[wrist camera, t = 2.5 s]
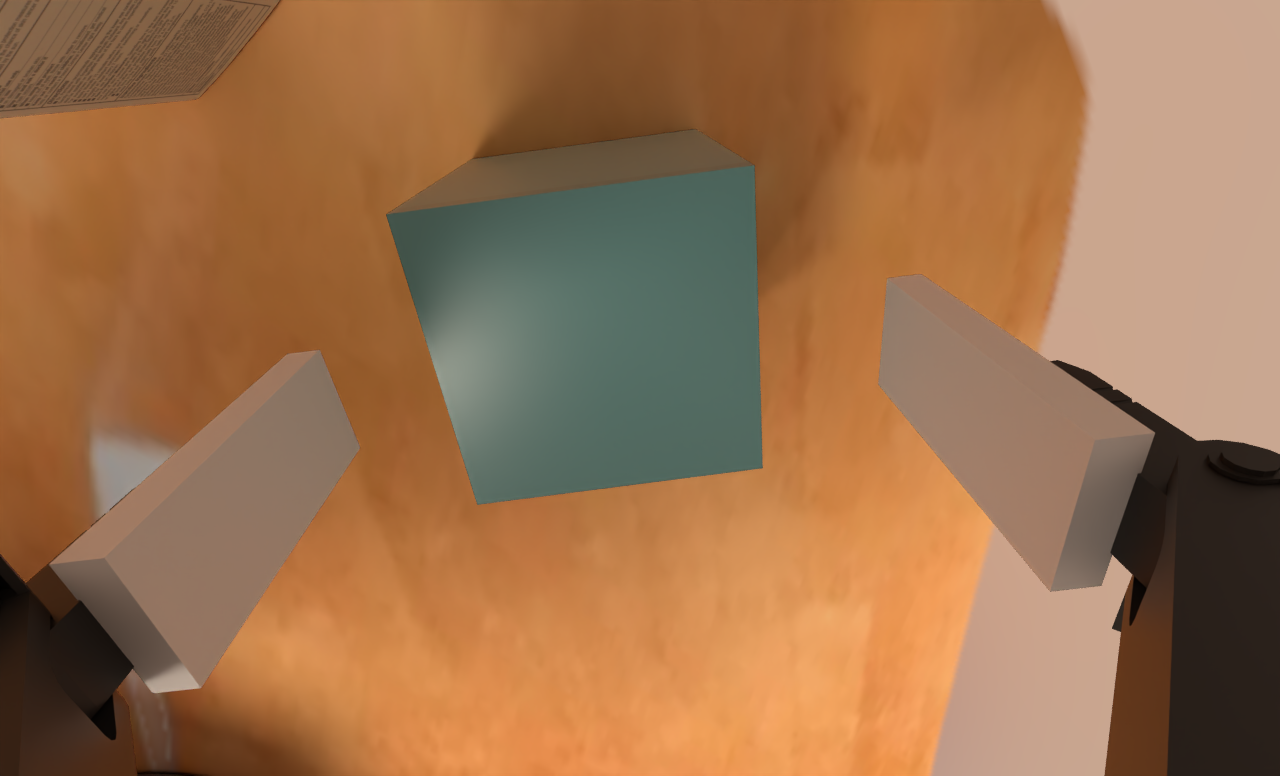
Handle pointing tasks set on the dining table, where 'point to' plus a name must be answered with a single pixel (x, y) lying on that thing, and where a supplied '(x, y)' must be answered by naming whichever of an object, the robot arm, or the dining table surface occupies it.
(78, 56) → the box
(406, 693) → the dining table surface
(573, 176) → the teal block
